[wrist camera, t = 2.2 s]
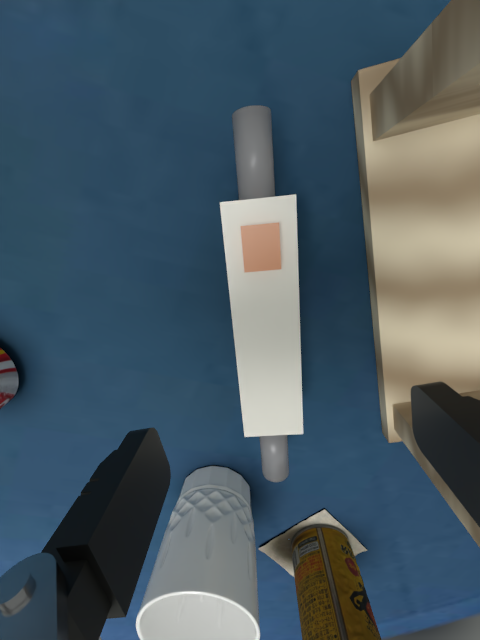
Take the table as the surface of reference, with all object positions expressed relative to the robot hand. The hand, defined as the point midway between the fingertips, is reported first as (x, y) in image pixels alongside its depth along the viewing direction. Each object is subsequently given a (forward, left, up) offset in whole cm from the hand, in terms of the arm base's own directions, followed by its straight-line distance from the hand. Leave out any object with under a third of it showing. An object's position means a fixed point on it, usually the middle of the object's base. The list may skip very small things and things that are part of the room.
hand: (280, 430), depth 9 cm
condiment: (+26, 0, -14) cm, 29 cm away
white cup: (+17, -8, -14) cm, 23 cm away
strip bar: (0, 0, -14) cm, 14 cm away
